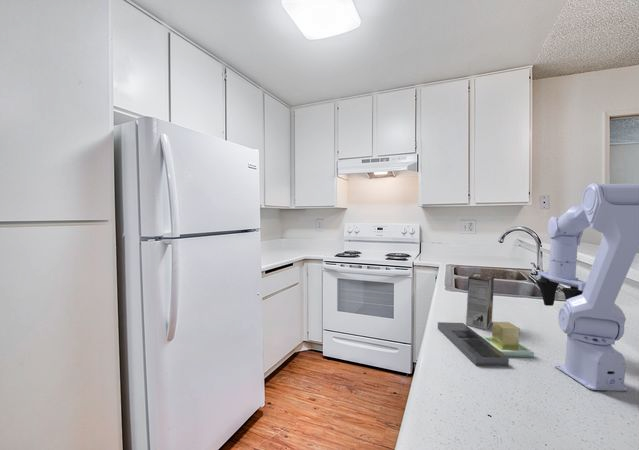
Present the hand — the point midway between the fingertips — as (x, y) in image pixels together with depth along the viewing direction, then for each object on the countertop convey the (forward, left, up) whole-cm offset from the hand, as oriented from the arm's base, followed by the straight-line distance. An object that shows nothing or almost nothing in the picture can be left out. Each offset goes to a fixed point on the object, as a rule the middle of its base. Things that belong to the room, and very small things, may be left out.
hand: (559, 309), depth 81 cm
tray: (-2, +16, -10) cm, 19 cm away
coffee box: (+16, +13, -11) cm, 23 cm away
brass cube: (-2, +16, -10) cm, 19 cm away
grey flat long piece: (0, +25, -10) cm, 27 cm away
